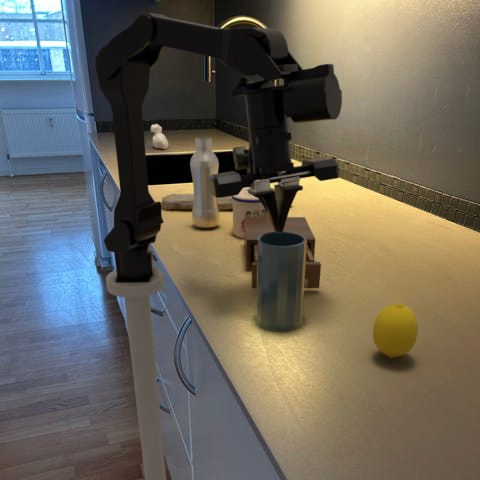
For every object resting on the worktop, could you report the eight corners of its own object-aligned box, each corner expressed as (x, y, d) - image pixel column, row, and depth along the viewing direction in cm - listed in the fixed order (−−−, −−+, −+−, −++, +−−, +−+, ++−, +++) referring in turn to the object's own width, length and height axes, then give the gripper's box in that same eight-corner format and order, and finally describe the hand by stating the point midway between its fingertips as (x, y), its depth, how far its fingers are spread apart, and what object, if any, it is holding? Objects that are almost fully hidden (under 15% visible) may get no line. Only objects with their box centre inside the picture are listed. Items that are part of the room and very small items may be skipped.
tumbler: (257, 331, 75) (259, 246, 69) (255, 311, 81) (256, 231, 75) (304, 331, 75) (309, 246, 69) (298, 310, 81) (303, 231, 75)
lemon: (361, 357, 68) (368, 303, 64) (383, 343, 72) (391, 290, 68) (398, 373, 65) (408, 317, 61) (420, 357, 68) (430, 303, 64)
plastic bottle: (208, 221, 125) (206, 135, 116) (225, 227, 121) (224, 138, 111) (186, 226, 122) (182, 137, 112) (203, 232, 117) (200, 141, 108)
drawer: (323, 298, 83) (325, 274, 81) (253, 299, 82) (253, 274, 80) (308, 260, 98) (309, 238, 97) (249, 260, 98) (249, 239, 96)
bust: (160, 151, 233) (143, 131, 228) (173, 140, 231) (156, 119, 226) (160, 155, 222) (142, 134, 217) (173, 144, 221) (156, 122, 216)
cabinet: (313, 270, 96) (315, 239, 93) (246, 270, 96) (246, 239, 93) (303, 245, 109) (304, 217, 106) (244, 245, 109) (244, 217, 106)
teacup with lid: (240, 241, 111) (239, 187, 106) (226, 230, 119) (225, 179, 113) (290, 235, 115) (292, 183, 109) (274, 224, 122) (275, 175, 117)
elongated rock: (164, 207, 141) (161, 219, 133) (161, 188, 139) (158, 199, 130) (289, 198, 142) (295, 210, 134) (289, 179, 140) (295, 190, 131)
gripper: (311, 118, 82) (318, 214, 88) (197, 134, 79) (212, 233, 85) (337, 117, 72) (343, 227, 78) (208, 137, 69) (224, 248, 75)
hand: (279, 233), depth 79 cm, fingers closed
